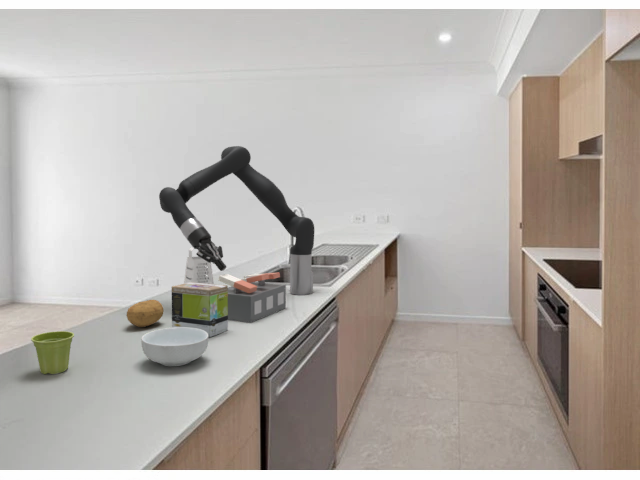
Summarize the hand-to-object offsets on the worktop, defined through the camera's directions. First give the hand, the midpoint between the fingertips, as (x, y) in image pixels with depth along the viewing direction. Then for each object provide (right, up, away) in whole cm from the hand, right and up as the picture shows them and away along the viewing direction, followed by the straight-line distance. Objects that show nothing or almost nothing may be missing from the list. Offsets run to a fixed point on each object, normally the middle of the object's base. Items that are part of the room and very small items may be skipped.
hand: (223, 269), depth 188 cm
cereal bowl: (-4, -22, -49) cm, 54 cm away
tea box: (-4, -19, -19) cm, 27 cm away
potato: (-23, -18, -14) cm, 33 cm away
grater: (-18, -13, +39) cm, 44 cm away
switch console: (+10, -16, +9) cm, 21 cm away
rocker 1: (+5, -5, -2) cm, 7 cm away
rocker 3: (+12, -4, +13) cm, 18 cm away
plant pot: (-31, -22, -57) cm, 69 cm away
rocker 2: (+9, -4, +5) cm, 11 cm away
